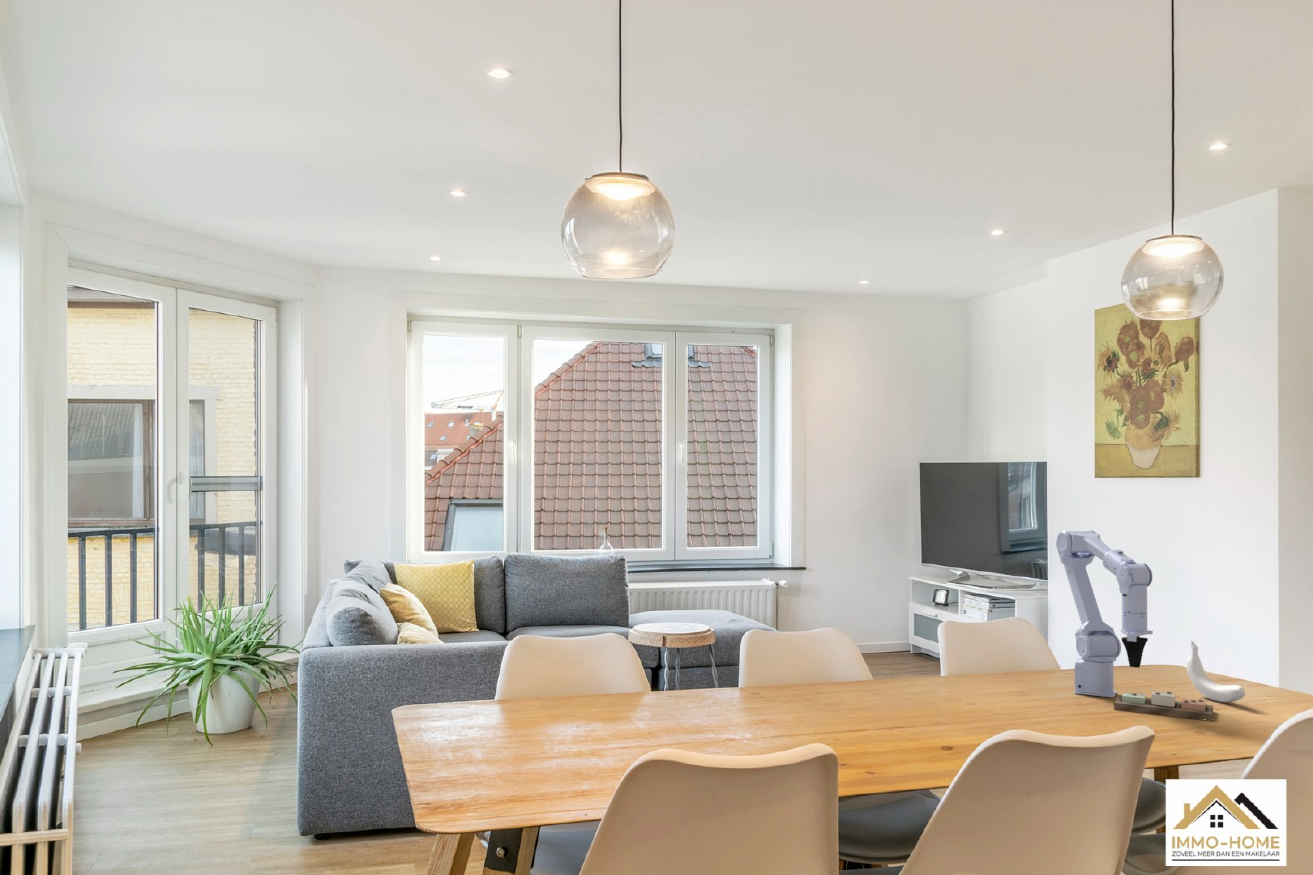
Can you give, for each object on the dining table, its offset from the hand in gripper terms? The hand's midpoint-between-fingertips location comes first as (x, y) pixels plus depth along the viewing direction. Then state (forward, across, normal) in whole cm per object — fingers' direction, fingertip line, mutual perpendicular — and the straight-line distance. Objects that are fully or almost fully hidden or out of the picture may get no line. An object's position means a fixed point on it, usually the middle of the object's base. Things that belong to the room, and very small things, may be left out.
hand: (1134, 666), depth 244 cm
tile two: (+8, 0, -6) cm, 10 cm away
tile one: (+9, 0, 0) cm, 9 cm away
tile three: (+9, 0, -13) cm, 16 cm away
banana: (+10, +20, -17) cm, 28 cm away
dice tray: (+10, 0, -6) cm, 12 cm away
